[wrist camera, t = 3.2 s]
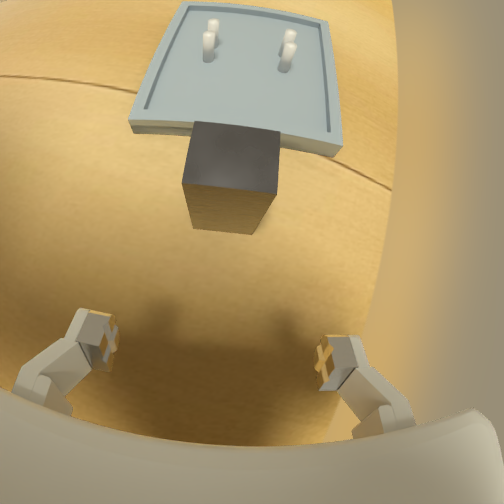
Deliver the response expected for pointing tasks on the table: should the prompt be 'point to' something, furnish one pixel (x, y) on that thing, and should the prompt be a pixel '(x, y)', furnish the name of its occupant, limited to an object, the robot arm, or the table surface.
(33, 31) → the table surface
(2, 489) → the robot arm
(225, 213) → the drive
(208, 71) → the tray
